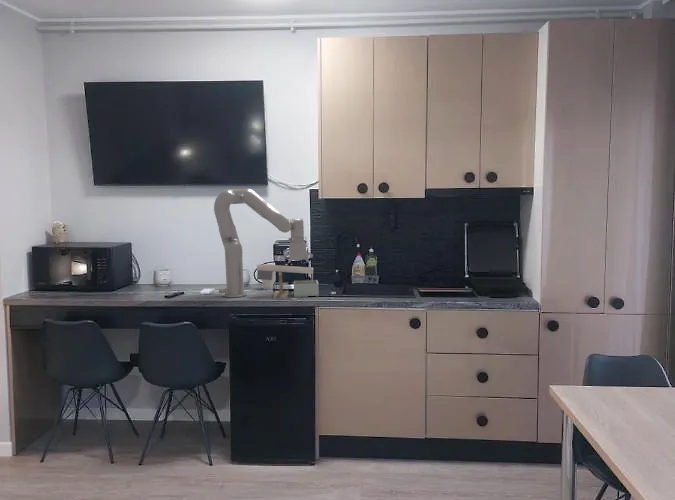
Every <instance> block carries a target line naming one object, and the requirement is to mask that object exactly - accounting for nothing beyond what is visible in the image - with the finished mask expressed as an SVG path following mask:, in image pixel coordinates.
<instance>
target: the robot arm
mask: <svg viewBox="0 0 675 500" xmlns="http://www.w3.org/2000/svg"><path fill="white" fill-rule="evenodd" d="M237 204H239V205H241V204H243V205H244V204H245V205H246V206H248V207H249V208H250V209H251V210H252V211H254V212H255V213H256V214H257V215H259V216H260V217H262V219H265V220H267V221H268V222H269V223H270V224H272V225H273V226H274V227H275V228H276V229H277V230H278V231H280V232H282V233H288V232H290V237H289V238H288V241H290V242H289V246H288V247H289V248H288V251H289V252H287V253H286V254H284V255H283V256H282V258H283V259H284V261H285V262H286V263H287V266H292V264H291V262H292V261H300V260H301V261H302V260H304V261H306V262H305V267H310V265H309V264H310V262H311V261H312V259H313V257H314V254H313V253H311V252H308V249H307V243H306V241H305V228H304V227H305V225H304V220H303V218H297V217H295V218H286V217H285V216H284V215H283V214H282V213H281V212H279V211H278V210H277V209H276V208H275V207H274V206H272V205H271V204H270V203H269V202H268V201H267V200H265V198H264V197H262V196H260V194H258V192H255V190H254V189H251V188H247V187H246V188H237V189H236V188H235V189H232V188H229V189H228V188H227V189H223V190H222V191H221V192H220V193H219V194H218V195H217V197H216V198H215V201H214V203H213V212H214V216H215V219H216V223H217V227H218V232H219V235H220V238H221V241H222V245H223V247H224V259H225V262H224V263H225V278H226V288H223V289H222V288H220V289H218V293H221V294H222V293H224V294H223V297H225V298H242V297H245V296H247V295H248V294H247V292H245V287H244V269H243V268H244V267H243V266H244V263H243V262H244V261H243V246H242V244H241V241H240V238H239V235H238V232H237V229H236V228H237V227H236V225H235V223H234V220H233V217H232V213H231V210H230V209H231V208H230V206H231V205H237ZM288 256H289V259H288V258H287V257H288ZM308 256H309V257H308Z"/></svg>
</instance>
